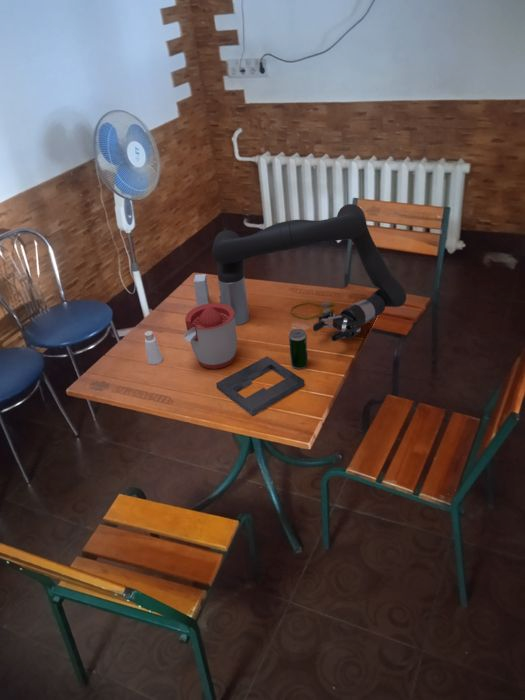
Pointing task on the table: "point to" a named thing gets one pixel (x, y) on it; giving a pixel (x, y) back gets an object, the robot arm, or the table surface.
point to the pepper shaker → (152, 349)
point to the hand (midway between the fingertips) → (323, 333)
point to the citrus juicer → (212, 334)
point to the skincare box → (201, 289)
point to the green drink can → (298, 348)
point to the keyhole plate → (262, 396)
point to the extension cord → (316, 305)
